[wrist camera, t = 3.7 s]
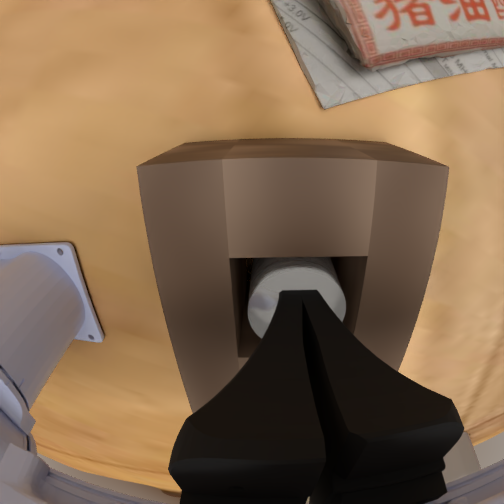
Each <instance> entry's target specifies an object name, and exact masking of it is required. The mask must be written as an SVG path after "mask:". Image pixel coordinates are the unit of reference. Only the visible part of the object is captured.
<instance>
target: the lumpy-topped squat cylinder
mask: <svg viewBox="0 0 504 504" xmlns="http://www.w3.org/2000/svg"><path fill="white" fill-rule="evenodd" d="M443 459H444V462H445V465H446V467H445V469H444V470H443V471H442V474H443V477H444V481H445V484H446V483H449V482H451V481H454V480H457V479H460V478H462V477H465V476H467V475H470V474H472V473H474V472H477V471H479V470H481V467H480V464H479V461H478V459H477V456H476V453H475V450H474V448H473V445H472V442H471V440H470V437H469V435H468V433H466V432H463V434H462V436H461V438H460V439H459V440H458V442H457V443H456V444H455V445H454V446H453V448H452V449H451V450H450V451H449V452H448V453H447V454H446V455H445V456H444V457H443Z"/></svg>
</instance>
